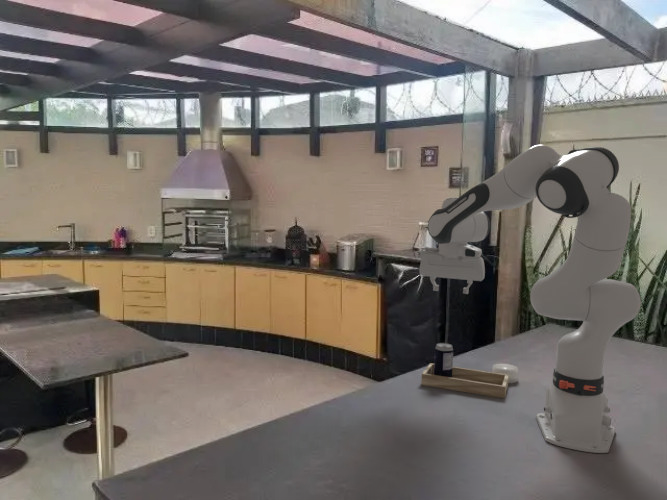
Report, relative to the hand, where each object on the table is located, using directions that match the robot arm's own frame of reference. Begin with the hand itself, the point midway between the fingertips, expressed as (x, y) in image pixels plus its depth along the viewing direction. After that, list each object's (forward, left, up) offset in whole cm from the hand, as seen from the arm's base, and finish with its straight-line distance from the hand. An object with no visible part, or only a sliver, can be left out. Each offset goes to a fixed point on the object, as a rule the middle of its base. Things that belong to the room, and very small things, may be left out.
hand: (450, 292), depth 167 cm
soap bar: (+9, -17, -29) cm, 35 cm away
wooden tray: (-3, -6, -29) cm, 30 cm away
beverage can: (-3, +1, -29) cm, 29 cm away
